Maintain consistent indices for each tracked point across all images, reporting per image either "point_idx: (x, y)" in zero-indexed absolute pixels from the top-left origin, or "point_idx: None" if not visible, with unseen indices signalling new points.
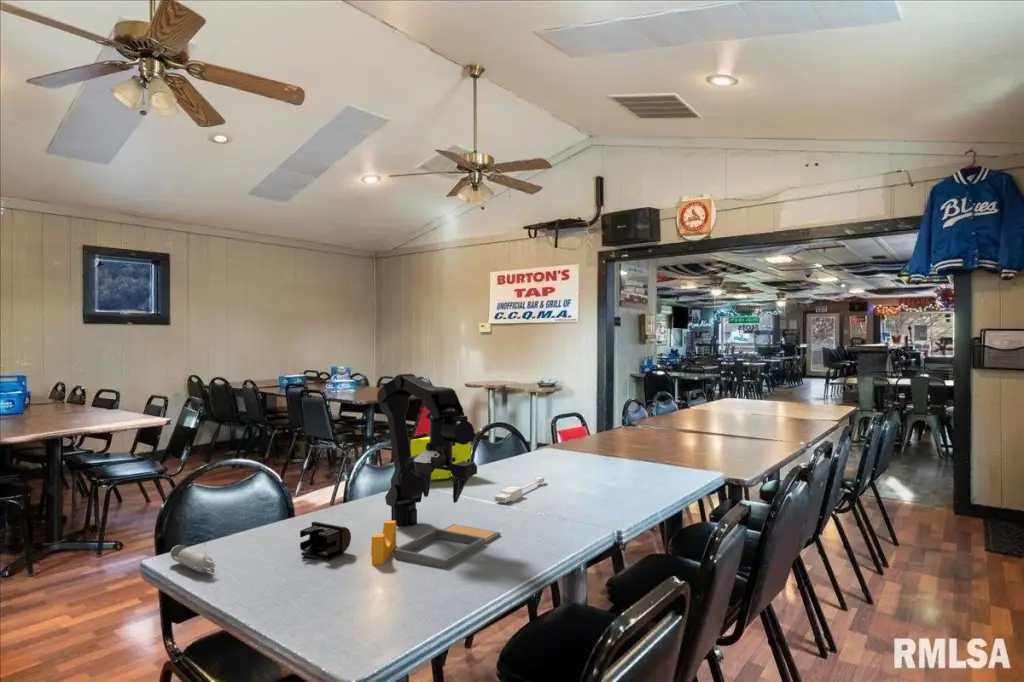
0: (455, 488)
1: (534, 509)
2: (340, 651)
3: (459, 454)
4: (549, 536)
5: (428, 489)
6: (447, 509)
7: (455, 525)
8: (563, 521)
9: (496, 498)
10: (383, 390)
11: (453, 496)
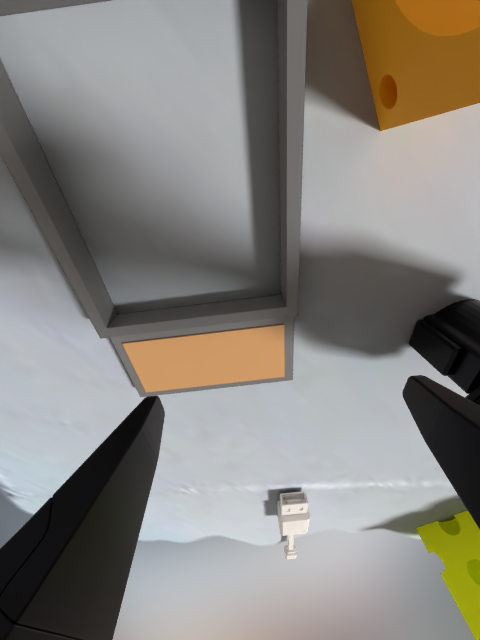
0: (34, 532)
1: (214, 495)
2: None
3: (471, 582)
4: (64, 435)
5: (434, 441)
6: (377, 435)
7: (278, 373)
8: None
9: (304, 498)
10: None
11: (132, 433)
